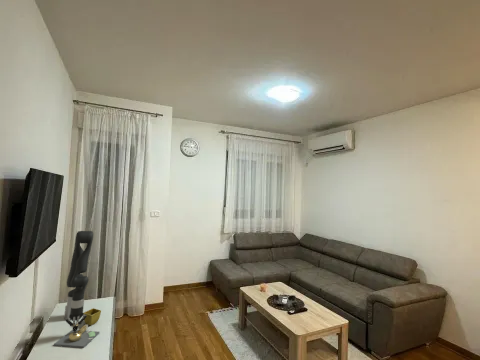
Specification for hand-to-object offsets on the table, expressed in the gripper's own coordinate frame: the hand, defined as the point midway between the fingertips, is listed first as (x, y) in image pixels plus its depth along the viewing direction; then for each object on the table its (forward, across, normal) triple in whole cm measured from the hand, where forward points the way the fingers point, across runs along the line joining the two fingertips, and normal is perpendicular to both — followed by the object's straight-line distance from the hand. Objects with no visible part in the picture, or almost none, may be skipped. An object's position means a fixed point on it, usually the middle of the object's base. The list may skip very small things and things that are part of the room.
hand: (74, 330), depth 170 cm
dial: (+1, +3, -5) cm, 6 cm away
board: (+3, +3, -7) cm, 8 cm away
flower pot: (+3, +10, +12) cm, 16 cm away
